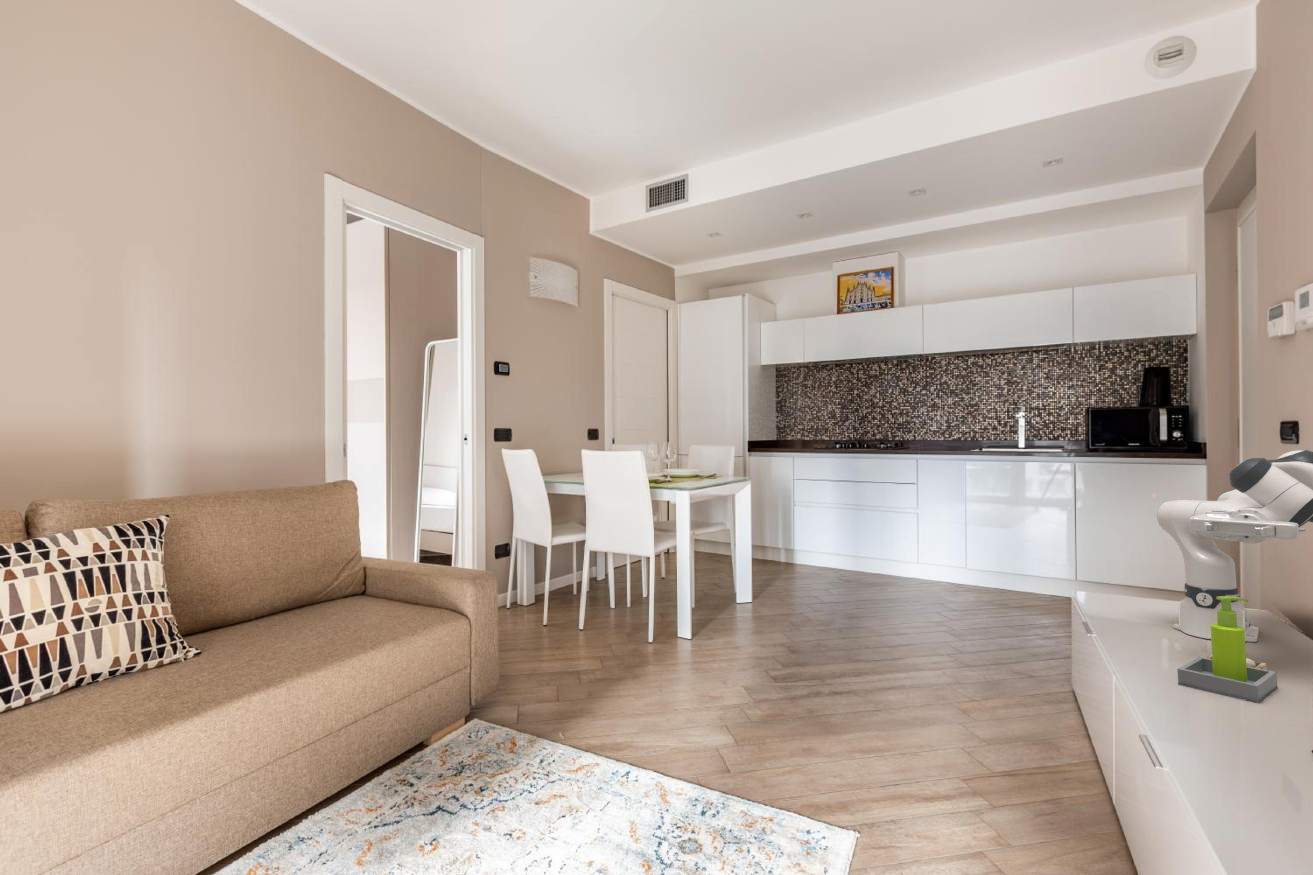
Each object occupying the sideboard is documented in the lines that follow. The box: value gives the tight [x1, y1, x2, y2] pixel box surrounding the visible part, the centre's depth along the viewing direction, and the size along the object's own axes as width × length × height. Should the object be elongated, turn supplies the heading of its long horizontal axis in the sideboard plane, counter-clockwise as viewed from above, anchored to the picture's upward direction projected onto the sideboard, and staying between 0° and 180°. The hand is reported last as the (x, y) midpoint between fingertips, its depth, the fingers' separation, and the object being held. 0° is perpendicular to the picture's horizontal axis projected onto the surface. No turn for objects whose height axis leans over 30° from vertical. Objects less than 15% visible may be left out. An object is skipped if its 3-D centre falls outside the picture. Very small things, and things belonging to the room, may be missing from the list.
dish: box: [1177, 656, 1278, 704], centre depth 146 cm, size 14×14×4 cm
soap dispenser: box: [1210, 596, 1249, 682], centre depth 146 cm, size 6×7×20 cm
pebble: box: [1246, 657, 1256, 668], centre depth 154 cm, size 3×3×3 cm
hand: (1232, 529), depth 154 cm, fingers open, 8 cm apart
